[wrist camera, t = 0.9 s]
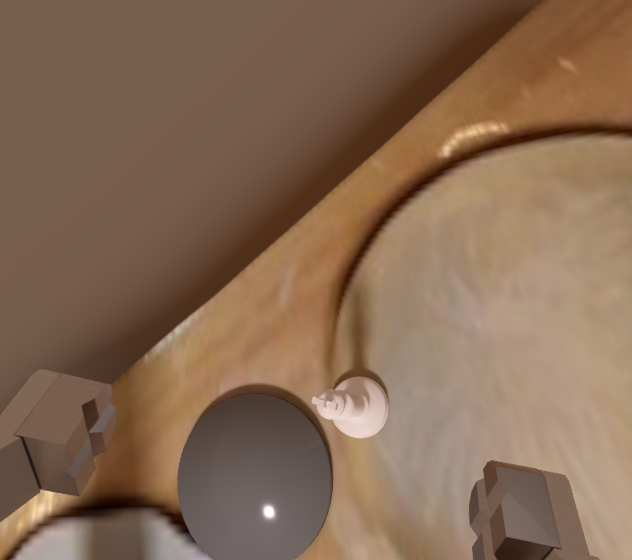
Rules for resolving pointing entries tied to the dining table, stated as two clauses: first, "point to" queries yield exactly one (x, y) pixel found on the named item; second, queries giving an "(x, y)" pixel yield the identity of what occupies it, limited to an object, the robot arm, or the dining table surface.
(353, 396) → the chess piece
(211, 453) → the charcoal plate
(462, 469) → the dining table surface
